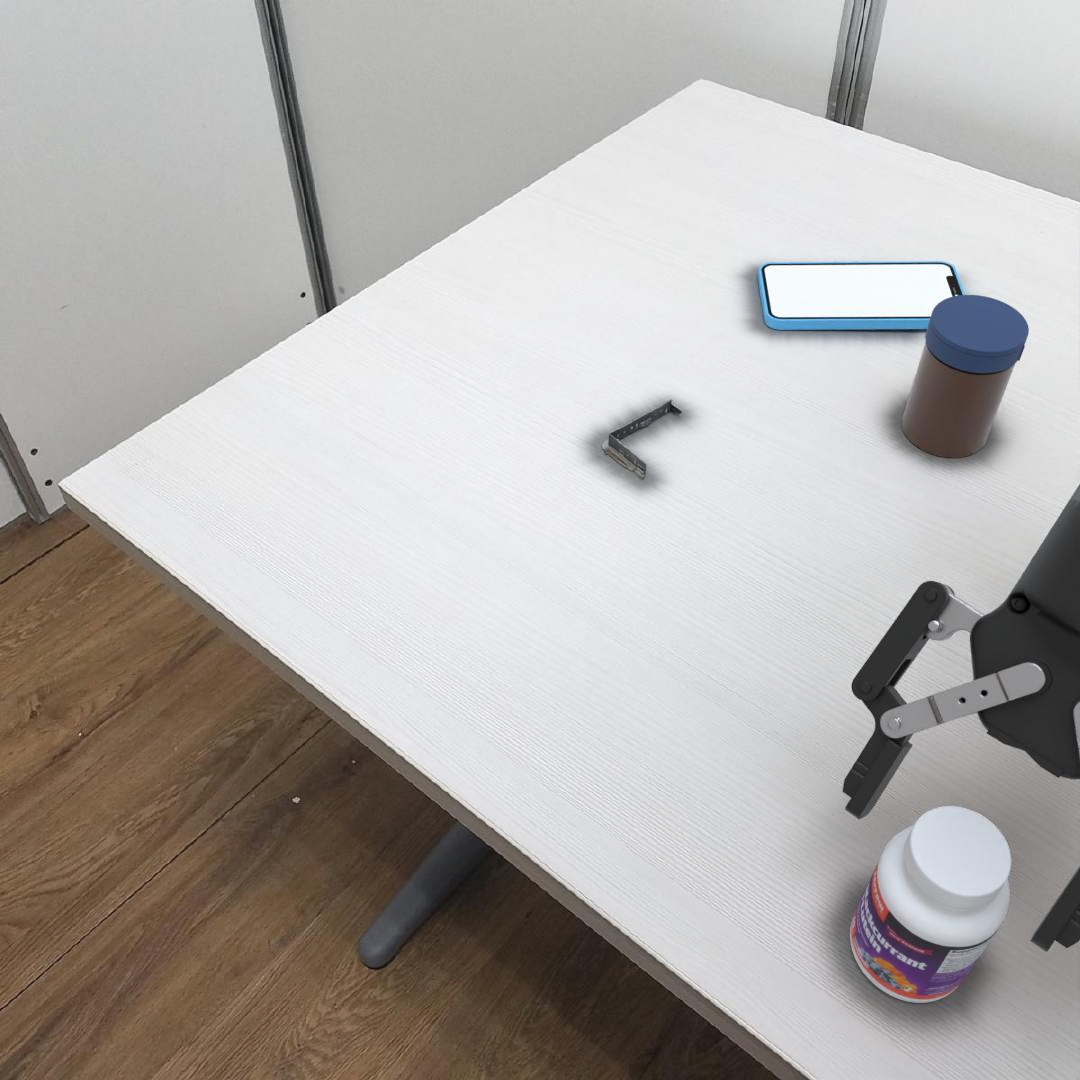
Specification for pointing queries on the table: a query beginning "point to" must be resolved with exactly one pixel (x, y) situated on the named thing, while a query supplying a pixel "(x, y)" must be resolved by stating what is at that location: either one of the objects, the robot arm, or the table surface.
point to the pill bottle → (932, 904)
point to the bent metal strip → (629, 428)
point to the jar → (952, 407)
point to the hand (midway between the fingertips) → (944, 875)
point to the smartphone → (854, 294)
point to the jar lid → (976, 333)
